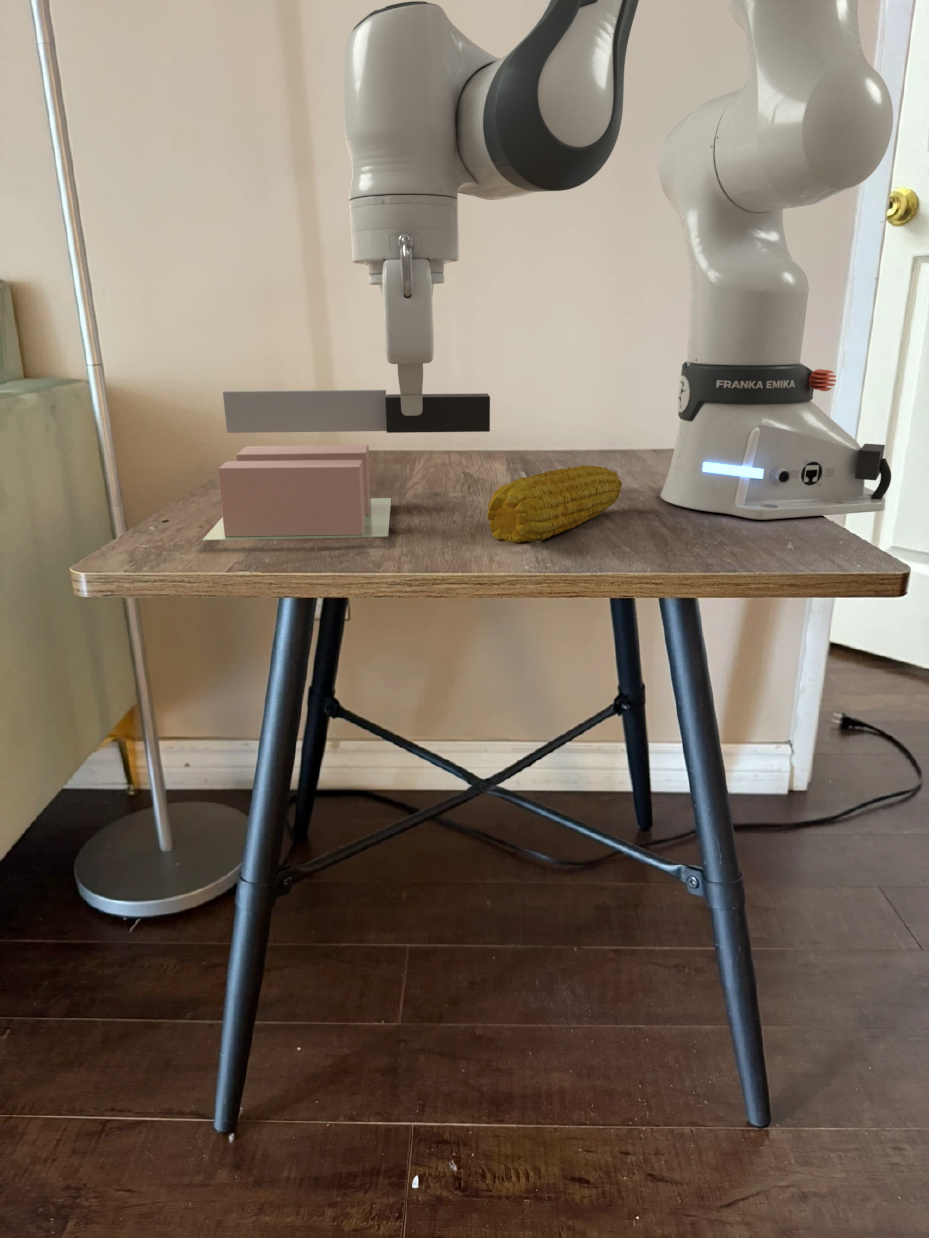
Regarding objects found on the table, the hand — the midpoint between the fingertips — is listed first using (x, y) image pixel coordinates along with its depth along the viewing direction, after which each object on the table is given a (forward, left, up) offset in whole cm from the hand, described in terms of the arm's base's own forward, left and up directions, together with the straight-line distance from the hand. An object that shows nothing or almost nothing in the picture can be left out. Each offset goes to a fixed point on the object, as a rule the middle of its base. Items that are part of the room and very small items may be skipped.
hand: (412, 412), depth 75 cm
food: (-13, -1, -11) cm, 18 cm away
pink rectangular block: (+10, -6, -10) cm, 16 cm away
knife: (+5, 0, -2) cm, 5 cm away
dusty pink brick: (+11, +2, -10) cm, 15 cm away
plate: (+10, -4, -11) cm, 16 cm away
